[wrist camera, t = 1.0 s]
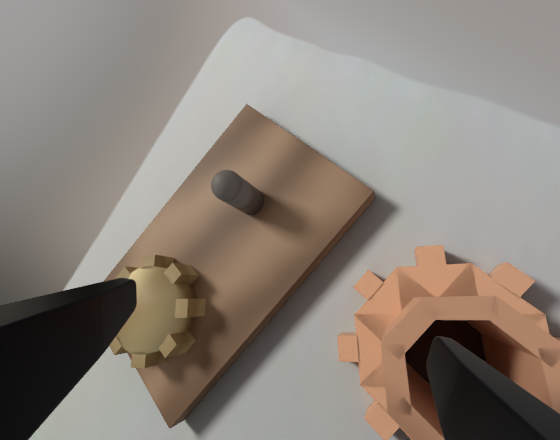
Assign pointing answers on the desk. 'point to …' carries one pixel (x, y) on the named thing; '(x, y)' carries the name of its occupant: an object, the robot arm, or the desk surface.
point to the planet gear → (444, 306)
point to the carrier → (229, 256)
